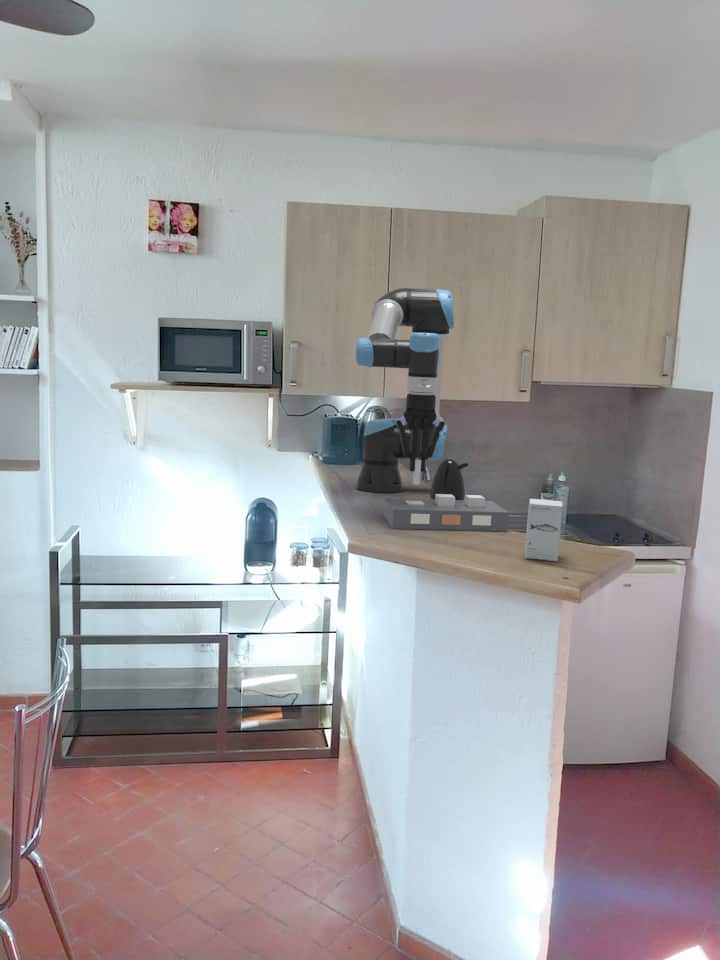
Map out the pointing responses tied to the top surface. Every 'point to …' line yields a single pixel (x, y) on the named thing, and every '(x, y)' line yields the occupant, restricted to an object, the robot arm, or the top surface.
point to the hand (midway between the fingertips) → (416, 483)
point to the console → (444, 516)
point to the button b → (444, 500)
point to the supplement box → (543, 529)
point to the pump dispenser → (449, 480)
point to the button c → (474, 501)
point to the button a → (414, 503)
